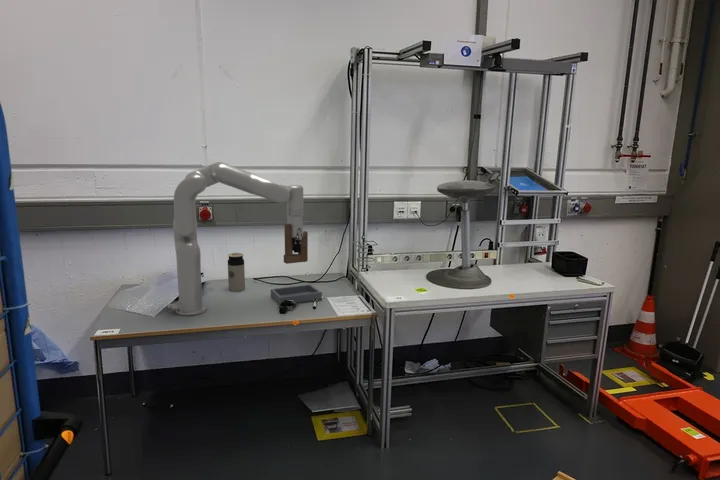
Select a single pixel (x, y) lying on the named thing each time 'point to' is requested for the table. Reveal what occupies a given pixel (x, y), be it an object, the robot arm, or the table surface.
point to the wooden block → (289, 246)
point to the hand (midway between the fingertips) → (295, 251)
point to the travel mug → (236, 272)
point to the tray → (296, 294)
